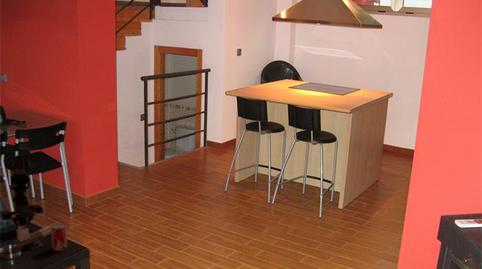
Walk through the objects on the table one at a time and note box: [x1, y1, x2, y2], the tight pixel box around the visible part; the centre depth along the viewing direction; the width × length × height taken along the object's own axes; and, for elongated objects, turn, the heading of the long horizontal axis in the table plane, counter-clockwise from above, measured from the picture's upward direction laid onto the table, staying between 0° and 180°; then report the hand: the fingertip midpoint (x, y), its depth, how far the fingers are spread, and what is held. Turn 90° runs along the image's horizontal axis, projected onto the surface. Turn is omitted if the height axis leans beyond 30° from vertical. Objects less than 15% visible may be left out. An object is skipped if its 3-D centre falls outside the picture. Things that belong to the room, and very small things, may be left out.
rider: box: [15, 225, 30, 242], centre depth 254 cm, size 4×4×6 cm
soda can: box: [51, 223, 68, 252], centre depth 255 cm, size 7×7×12 cm
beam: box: [13, 225, 53, 248], centre depth 258 cm, size 6×18×2 cm, turn 129°
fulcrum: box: [26, 239, 45, 250], centre depth 259 cm, size 8×6×4 cm
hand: (22, 228), depth 254 cm, fingers open, 5 cm apart
